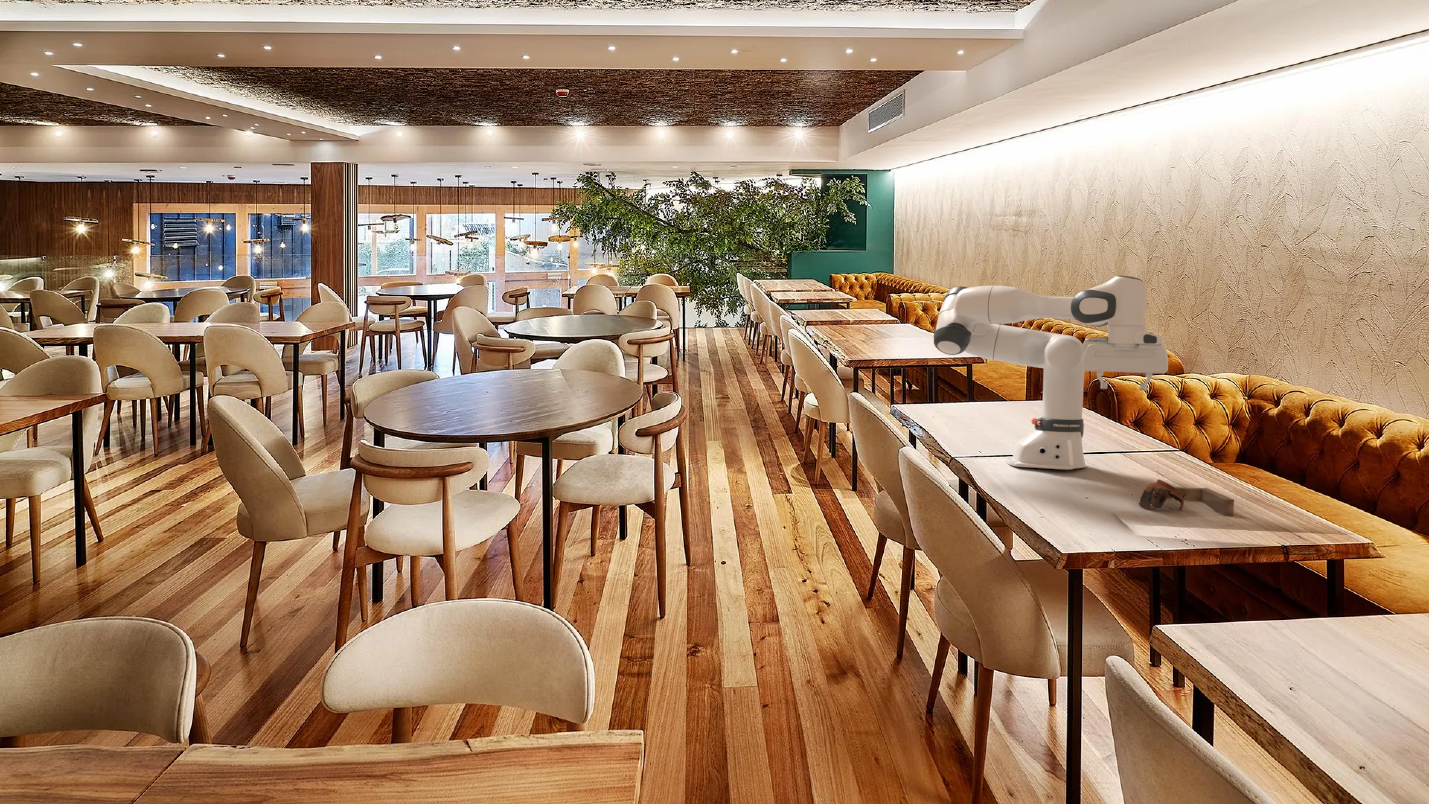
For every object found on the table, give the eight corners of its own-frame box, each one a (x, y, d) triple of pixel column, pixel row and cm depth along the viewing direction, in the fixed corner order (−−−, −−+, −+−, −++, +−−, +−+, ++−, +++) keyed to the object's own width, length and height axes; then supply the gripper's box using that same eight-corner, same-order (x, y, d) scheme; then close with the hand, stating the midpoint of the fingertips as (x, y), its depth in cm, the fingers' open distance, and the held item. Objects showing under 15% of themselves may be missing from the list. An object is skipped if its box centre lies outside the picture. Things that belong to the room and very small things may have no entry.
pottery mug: (1136, 503, 213) (1154, 477, 211) (1172, 524, 208) (1191, 497, 207) (1133, 501, 203) (1152, 473, 201) (1170, 523, 198) (1190, 494, 196)
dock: (1175, 513, 201) (1176, 497, 200) (1152, 501, 216) (1153, 486, 216) (1233, 516, 198) (1234, 499, 198) (1206, 503, 214) (1206, 488, 214)
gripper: (1081, 336, 217) (1079, 388, 218) (1168, 337, 207) (1165, 391, 208) (1085, 337, 223) (1082, 387, 224) (1170, 338, 212) (1167, 390, 213)
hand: (1123, 389), depth 216 cm, fingers open, 8 cm apart
